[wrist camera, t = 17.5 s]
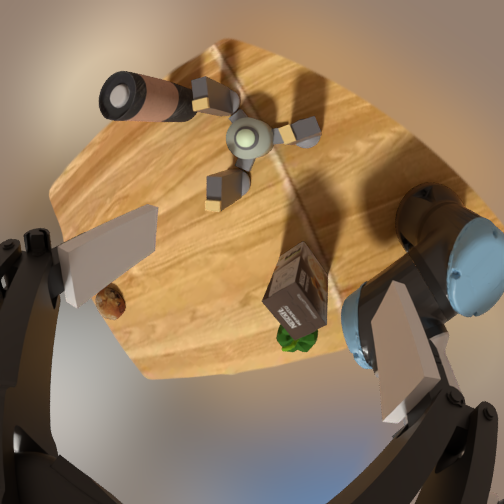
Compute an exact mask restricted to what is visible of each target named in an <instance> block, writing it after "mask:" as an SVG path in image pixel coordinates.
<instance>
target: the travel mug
mask: <svg viewBox="0 0 504 504" xmlns="http://www.w3.org/2000/svg"><path fill="white" fill-rule="evenodd" d="M192 101H194V99H193V91H192V90H191V89H188V88H186V87H183V86H180V85H177V84H175V83H172V82H169V81H166V80H162V79H158V78H154V77H150V76H145V75H141V74H137V73H132V72H127V71H120V72H117V73H114V74H113V75H111V76H110V77H109V78H108V79H107V80H106V82H105V83H104V85H103V87H102V89H101V92H100V95H99V108H100V111H101V113H102V115H103V116H104V117H105V118H106V119H110V120H114V121H147V122H185V121H188V120H190V119H192V118H193V117H194V116H195V115H196V113H197V112H196V111H193V105H192Z"/></svg>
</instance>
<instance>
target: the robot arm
mask: <svg viewBox="0 0 504 504" xmlns="http://www.w3.org/2000/svg"><path fill="white" fill-rule="evenodd" d="M157 216H158V207H155V206H152V205H149V204H147V205H144V206H142V207H140V208H137V209H135V210H133V211H130V212H128V213H126V214H124V215H121V216H119V217H117V218H115V219H112V220H110V221H108V222H106V223H104V224H102V225H100V226H97V227H95V228H93V229H91V230H89V231H87V232H84V233H82V234H80V235H78V236H77V237H74V238H72V239H71V240H68V241H66V242H64V243H62V244H60V245H58V246H57V247H55V248H53V249H51V241H50V232H49V231H48V230H47V229H44V228H38V229H33V230H30V231H28V232H26V233H25V234H24V242H25V248H26V252H25V251H21V245H20V241H19V240H16V239H8V240H6V241H4V242H2V243H1V244H0V504H122V503H121V502H120V501H119V500H118V499H117V498H116V497H114V496H113V495H112V494H111V493H110V492H108V491H107V490H106V489H104V488H103V487H102V486H100V485H99V484H98V483H96V482H95V481H94V480H93V479H91V478H90V477H89V476H87V475H86V474H84V473H83V472H82V471H80V470H79V469H78V468H76V467H75V466H74V465H72V464H71V463H70V462H69V461H67V460H66V459H65V458H64V457H62V456H61V455H59V456H58V452H57V448H56V444H55V442H54V439H53V437H52V434H51V429H50V428H51V427H50V383H51V367H52V366H51V365H52V356H53V345H54V338H55V331H56V324H57V318H58V312H59V307H60V295H59V294H61V293H62V292H63V291H65V296H66V301H67V302H68V303H70V304H71V305H73V306H74V307H76V308H79V307H80V306H81V305H83V304H84V303H85V302H86V301H88V300H89V299H90V298H92V297H93V296H94V295H96V294H97V293H98V292H99V291H101V290H102V289H103V288H105V287H106V286H107V285H109V284H110V283H111V282H113V281H114V280H115V279H117V278H118V277H119V276H121V275H122V274H124V273H125V272H126V271H128V270H129V269H130V268H132V267H133V266H135V265H136V264H137V263H139V262H140V261H141V260H143V259H144V258H146V257H147V256H149V255H150V254H151V253H153V252H154V251H155V243H156V229H157ZM396 233H397V236H398V239H399V241H400V243H401V245H402V246H403V248H404V249H405V251H406V252H407V253H406V254H405V255H403V256H402V257H401V258H399V259H398V260H397V261H395V262H394V263H393V264H391V265H390V266H389V267H387V268H386V269H384V270H383V271H382V272H380V273H379V274H378V275H376V276H375V277H373V278H372V279H370V280H369V281H366V282H364V283H363V284H362V285H361V286H360V288H359V289H357V290H356V291H355V292H353V293H352V294H351V295H349V296H348V297H347V298H346V300H345V301H344V304H343V306H342V311H341V323H342V329H343V333H344V337H345V340H346V343H347V346H348V348H349V350H350V352H351V353H353V355H354V359H355V361H356V362H357V363H358V364H359V365H360V366H361V367H362V368H365V369H373V371H374V373H375V375H376V377H378V378H379V384H380V396H381V408H382V409H381V410H382V421H383V422H391V423H399V422H400V421H401V420H402V419H403V422H404V425H405V426H404V427H403V428H401V429H400V430H399V431H398V432H397V433H395V434H394V435H393V436H392V437H393V440H392V441H391V442H390V443H389V444H388V445H387V447H386V448H385V449H384V450H383V451H382V452H381V453H380V454H379V456H378V457H377V458H376V459H375V460H374V461H373V462H372V463H371V464H370V465H369V466H368V467H367V468H366V469H365V470H364V471H363V472H362V473H361V474H360V475H359V476H358V477H357V478H356V479H355V480H353V481H352V482H351V483H350V484H349V485H348V486H347V487H346V488H345V489H343V491H341V492H340V493H339V494H338V495H336V496H335V497H334V498H333V499H332V500H330V501H329V502H328V503H327V504H410V502H411V501H412V500H413V499H414V497H415V496H416V494H417V493H418V491H419V490H420V489H421V491H420V493H419V495H418V498H417V500H416V502H415V504H504V499H502V500H501V501H498V495H497V494H496V493H494V492H490V488H491V483H492V477H493V471H494V464H495V456H496V446H497V432H498V415H497V412H496V409H495V408H494V406H493V405H491V404H490V403H488V402H486V401H485V402H481V403H480V404H479V405H478V406H477V407H476V408H475V409H474V408H472V407H470V406H467V405H466V404H465V399H464V397H463V395H462V393H461V391H460V388H459V385H458V382H457V380H456V377H455V375H454V372H453V370H452V368H451V365H450V363H449V360H448V358H447V356H446V353H445V348H446V345H447V341H448V338H449V333H448V331H447V330H446V327H445V325H444V323H446V322H447V321H448V320H450V319H451V318H452V317H454V316H455V315H457V314H461V315H463V316H466V317H472V315H474V316H480V315H482V314H484V313H485V312H487V311H488V310H490V308H492V307H493V306H494V305H495V304H496V302H497V301H498V300H499V299H500V297H501V296H502V294H503V292H504V234H503V232H502V231H501V230H500V229H498V228H497V227H496V226H495V225H494V224H493V223H492V222H491V221H490V220H488V219H486V218H483V217H481V216H480V215H478V214H476V213H474V212H473V211H471V210H469V209H467V208H465V207H464V205H463V203H462V201H461V200H460V198H459V197H458V195H457V194H456V193H455V192H454V191H452V190H451V189H450V188H448V187H446V186H443V185H441V184H438V183H424V184H421V185H418V186H416V187H415V188H413V189H412V190H410V191H409V192H408V193H407V194H406V195H405V197H404V198H403V200H402V201H401V203H400V205H399V208H398V210H397V214H396ZM413 262H414V263H413ZM415 265H416V266H415ZM418 270H419V271H418ZM3 276H4V279H5V282H6V287H5V288H3V287H2V283H1V279H2V277H3ZM430 290H431V291H430ZM14 450H15V451H16V452H15V453H14ZM421 487H422V488H421Z"/></svg>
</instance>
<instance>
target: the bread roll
mask: <svg viewBox="0 0 504 504" xmlns="http://www.w3.org/2000/svg"><path fill="white" fill-rule="evenodd" d="M114 292H115V293H114ZM96 306H97V309H98V311H99V313H100V314H101V315H102V316H103V317H104V318H105V319H110V320H116V319H118V318H119V317H120V316H121V315H122V314H123V313H124V311H125V303H124V300H123V299H122V297H121V296H120V295H119V293H118V292H116V291H115V290H113V289H110V288H103V289H102V290H101V291H99V293H98V294H97V296H96Z"/></svg>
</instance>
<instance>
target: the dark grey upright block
mask: <svg viewBox="0 0 504 504" xmlns="http://www.w3.org/2000/svg"><path fill="white" fill-rule="evenodd" d="M278 129H279V132H280V134H281V136H282V139H283V141H284V144H285V145H295V144H296V145H297V146H299V147H302V148H310V147H313V146H315V145H316V144H317V143H318V142H319V140H320V136H321V135H322V133H321V130H320V128H319V125H318V123H317V120H316V118H315V116H313V117H310V118H307V119H301V120H298V121H297V122H295V123H293V124H290V125H286V126H283V127H281V128H278Z"/></svg>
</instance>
